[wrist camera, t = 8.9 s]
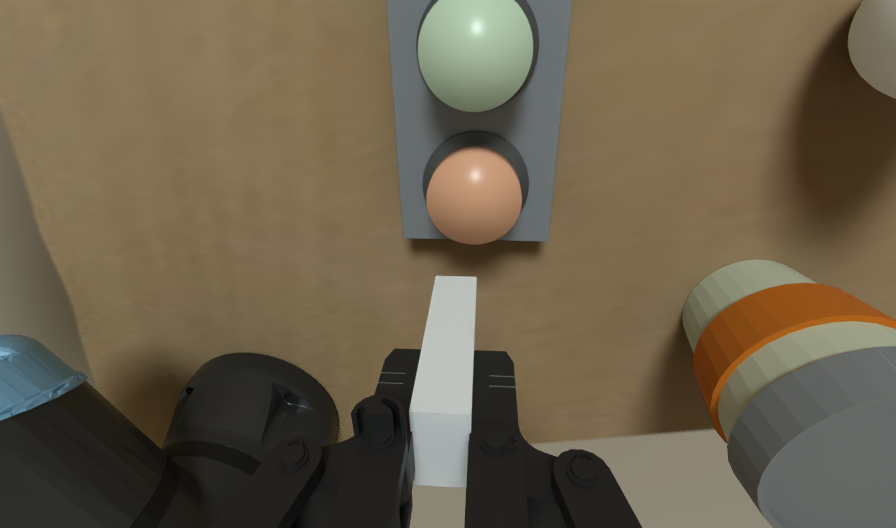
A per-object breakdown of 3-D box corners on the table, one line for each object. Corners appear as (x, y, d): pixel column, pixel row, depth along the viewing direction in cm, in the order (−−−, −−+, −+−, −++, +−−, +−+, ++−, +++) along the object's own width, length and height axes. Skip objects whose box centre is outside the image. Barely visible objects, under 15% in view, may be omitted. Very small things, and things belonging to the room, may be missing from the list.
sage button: (425, 105, 25) (420, 112, 23) (420, -12, 23) (414, -14, 21) (526, 105, 25) (529, 112, 23) (534, -15, 22) (537, -17, 20)
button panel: (410, 221, 34) (402, 241, 31) (382, -219, 23) (365, -256, 20) (543, 223, 33) (548, 244, 30) (585, -232, 22) (600, -272, 19)
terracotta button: (431, 230, 30) (428, 243, 28) (428, 145, 27) (424, 154, 25) (517, 232, 29) (519, 245, 28) (522, 145, 27) (525, 154, 25)
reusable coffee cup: (714, 393, 40) (825, 579, 26) (625, 307, 36) (701, 472, 23) (864, 311, 35) (1092, 491, 21) (777, 203, 31) (985, 337, 18)
